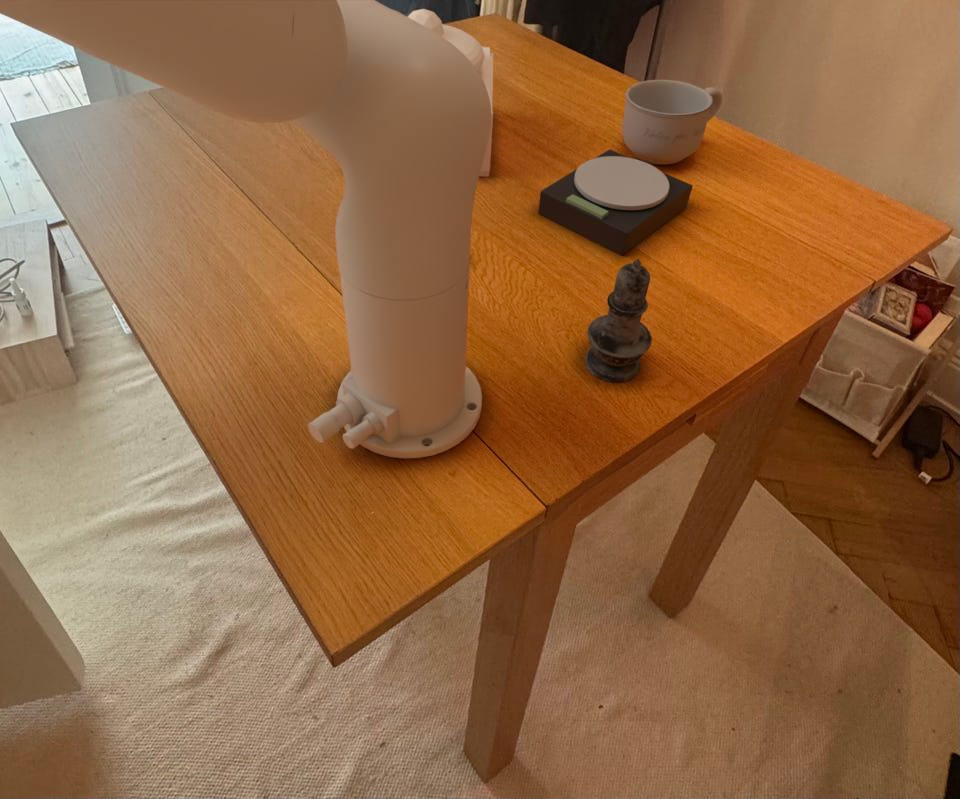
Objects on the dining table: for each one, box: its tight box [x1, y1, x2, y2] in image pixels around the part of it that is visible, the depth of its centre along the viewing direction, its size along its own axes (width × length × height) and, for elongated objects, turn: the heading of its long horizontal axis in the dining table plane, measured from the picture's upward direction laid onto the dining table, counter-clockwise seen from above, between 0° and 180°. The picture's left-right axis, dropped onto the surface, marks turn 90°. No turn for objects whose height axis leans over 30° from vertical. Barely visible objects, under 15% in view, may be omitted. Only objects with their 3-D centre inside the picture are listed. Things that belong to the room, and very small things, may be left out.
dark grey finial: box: [584, 258, 653, 384], centre depth 65 cm, size 6×6×12 cm
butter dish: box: [407, 8, 495, 178], centre depth 92 cm, size 18×18×16 cm
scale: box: [537, 148, 694, 257], centre depth 86 cm, size 14×12×4 cm
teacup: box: [621, 79, 723, 165], centre depth 95 cm, size 14×11×8 cm
